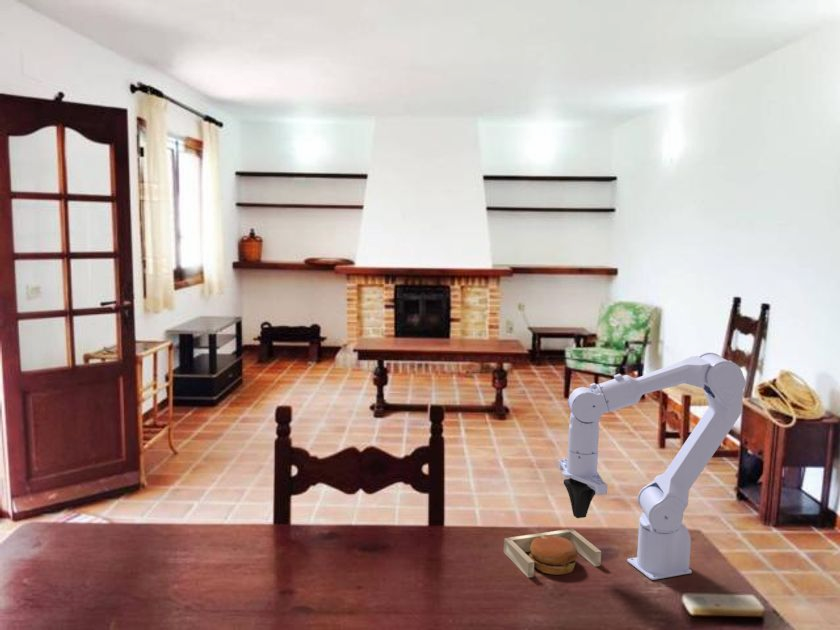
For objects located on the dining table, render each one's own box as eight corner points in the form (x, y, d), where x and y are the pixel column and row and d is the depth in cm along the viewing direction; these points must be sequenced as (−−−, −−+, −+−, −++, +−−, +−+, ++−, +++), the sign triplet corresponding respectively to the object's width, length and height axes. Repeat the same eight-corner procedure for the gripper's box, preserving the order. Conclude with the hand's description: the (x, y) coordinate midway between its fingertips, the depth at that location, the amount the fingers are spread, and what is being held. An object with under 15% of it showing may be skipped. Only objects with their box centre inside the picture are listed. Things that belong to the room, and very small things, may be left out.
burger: (559, 581, 127) (560, 558, 127) (519, 564, 134) (519, 541, 133) (586, 564, 134) (587, 541, 134) (547, 548, 141) (548, 527, 140)
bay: (571, 542, 143) (572, 528, 143) (600, 565, 133) (601, 551, 133) (503, 552, 138) (504, 538, 138) (527, 577, 128) (528, 562, 128)
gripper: (546, 440, 136) (543, 504, 138) (585, 464, 123) (581, 534, 124) (576, 437, 139) (573, 500, 140) (618, 460, 125) (614, 530, 127)
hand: (579, 516), depth 133 cm, fingers closed
